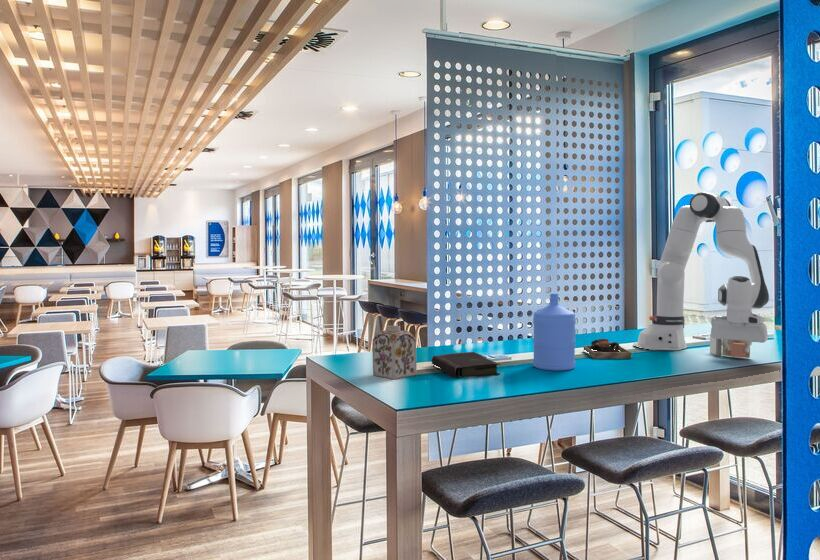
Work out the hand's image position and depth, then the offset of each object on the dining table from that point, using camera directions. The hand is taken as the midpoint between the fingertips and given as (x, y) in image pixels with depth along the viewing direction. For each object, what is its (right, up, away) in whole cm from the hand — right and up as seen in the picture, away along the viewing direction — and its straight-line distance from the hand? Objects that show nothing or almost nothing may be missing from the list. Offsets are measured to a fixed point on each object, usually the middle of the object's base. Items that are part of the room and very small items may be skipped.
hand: (738, 351), depth 253 cm
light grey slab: (-4, -2, +12) cm, 12 cm away
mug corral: (-48, -3, +13) cm, 50 cm away
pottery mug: (-50, -3, +11) cm, 51 cm away
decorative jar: (-137, -6, -23) cm, 139 cm away
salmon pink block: (0, -2, 0) cm, 2 cm away
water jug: (-76, -5, -12) cm, 77 cm away
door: (+2, -2, +5) cm, 5 cm away
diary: (-110, -6, -15) cm, 112 cm away
